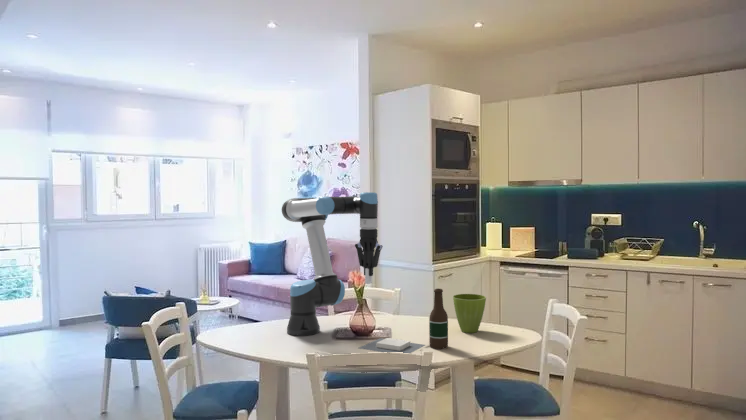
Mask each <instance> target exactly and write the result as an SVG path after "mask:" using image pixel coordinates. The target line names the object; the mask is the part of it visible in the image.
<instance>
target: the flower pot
mask: <svg viewBox="0 0 746 420" xmlns="http://www.w3.org/2000/svg"><path fill="white" fill-rule="evenodd" d="M452 299H453V305H454V311H455V312H454V313H455V316H456V319H457V324H458V326H459V328H460V331H461V332H462V333H467V334H476V333H477V332H478V331H479V329H480V326H481V323H482V319H483V316H484V311H485V307H486V301H487V297H486V296H485V295H483V294H477V293H476V294H475V293H459V294H455V295H453V296H452Z"/></svg>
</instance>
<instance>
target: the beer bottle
mask: <svg viewBox="0 0 746 420" xmlns="http://www.w3.org/2000/svg"><path fill="white" fill-rule="evenodd" d="M433 292H434V298H433V299H434V300H433V308H432V310H431V311H430V314H429V318H428V319H429V322H428V323H429V325H428V326H429V328H428V329H429V331H428V332H429V333H428V334H429V338H428V340H429V342H428V343H429V348H431V349H433V350H445V349H447V348H448V345H449V317H448V313H447V311H446V310H445V307H444V299H443V292H444V290H443V289H442V288H434V290H433Z"/></svg>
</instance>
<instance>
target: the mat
mask: <svg viewBox="0 0 746 420" xmlns="http://www.w3.org/2000/svg"><path fill="white" fill-rule="evenodd" d="M384 339H385V338H382V337H379V338H378V339H375V340H373V341H371V342H368V343H366V344H363V345H361V346H359V347H358V349H360V350H366V351H367V350H368V351H371V352H378V353H379V352H380V353H384V352H403V353H410V354H412V353H414V352H415V351H417V350H419V349H421V348H424V347H425V346H426V344H423V343H422V344H421V343H414V342H410V346H409V347H407V348H405V349H403V350H401V351H398V350H391V349H385V348H379V347H376V343H377V342H379V341H381V340H384Z"/></svg>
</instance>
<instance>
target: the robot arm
mask: <svg viewBox="0 0 746 420" xmlns="http://www.w3.org/2000/svg"><path fill="white" fill-rule="evenodd" d="M378 204H379V201H378V193H377V192H373V191H372V192H367V191H366V192H363V191H362V192H360V193H359V196H355V195H349V196H320V197H304V198H301V197H300V198H297V197H295V198H289V199H287V200H285V202H283V204H282V206H281V213H282V216H283V218H284V219H285V220H286V221H289V222H292V223H293V222H294V223H301V225H302V228H303V229H305V231H306V235H307V240H308V241H307V242H308V245H309V250H310V255H311V260H312V265H313V269H314V274H315V277H314V279H304V280H298V281H295V282H293V283H292V284H291V285H290V289H289V290H290V291H289V299H290V300H289V301H290V302H289V303H290V305H289V306H290V307H289V308H290V316H289V321H288V322H287V326H286V327H287V328H286V333H287V334H288V335H290V336H299V337H300V336H301V337H302V336H313V335H316V334H319V333H320V332H321V326H320V324H319V320H318V317H317V313H316V311H317V309H316V308H322V307H323V308H324V307H328V306H329V307H330V306H331V307H332V306H335V305H339V304H341V303H342V301H344V297H345V295H346V294H345V293H346V289H345V288H346V287H345V284H344V282H343V280H341V279H338V275H337V274H336V273H335V272H333V271H334V270H333V266H332V261H331V257H330V252H329V247H328V246H329V245H328V242H327V238H326V236H327V235H326V233H325V229H324V228H325V227H324V225H325V223H326V220H327V218H328V216H329V215H352V214H353V215H354V214H357V215H359V227H360V229H359V238H360V240H359V242H358V243H355V244H354V247H355V248H356V253H357V257H358V263H359V267H362V268H363V276H364V277H365V278H364V284H365V285H370V284H372V277H373V276H374V268H377V267H378V264H379V261H380V254H381V250H382V249H383V244H382V245H380V243H379V242H378V241H379V240H378V229H377V228H378V226H379V225H378V224H379V223H378V217H379V213H378V207H379V205H378Z"/></svg>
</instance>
